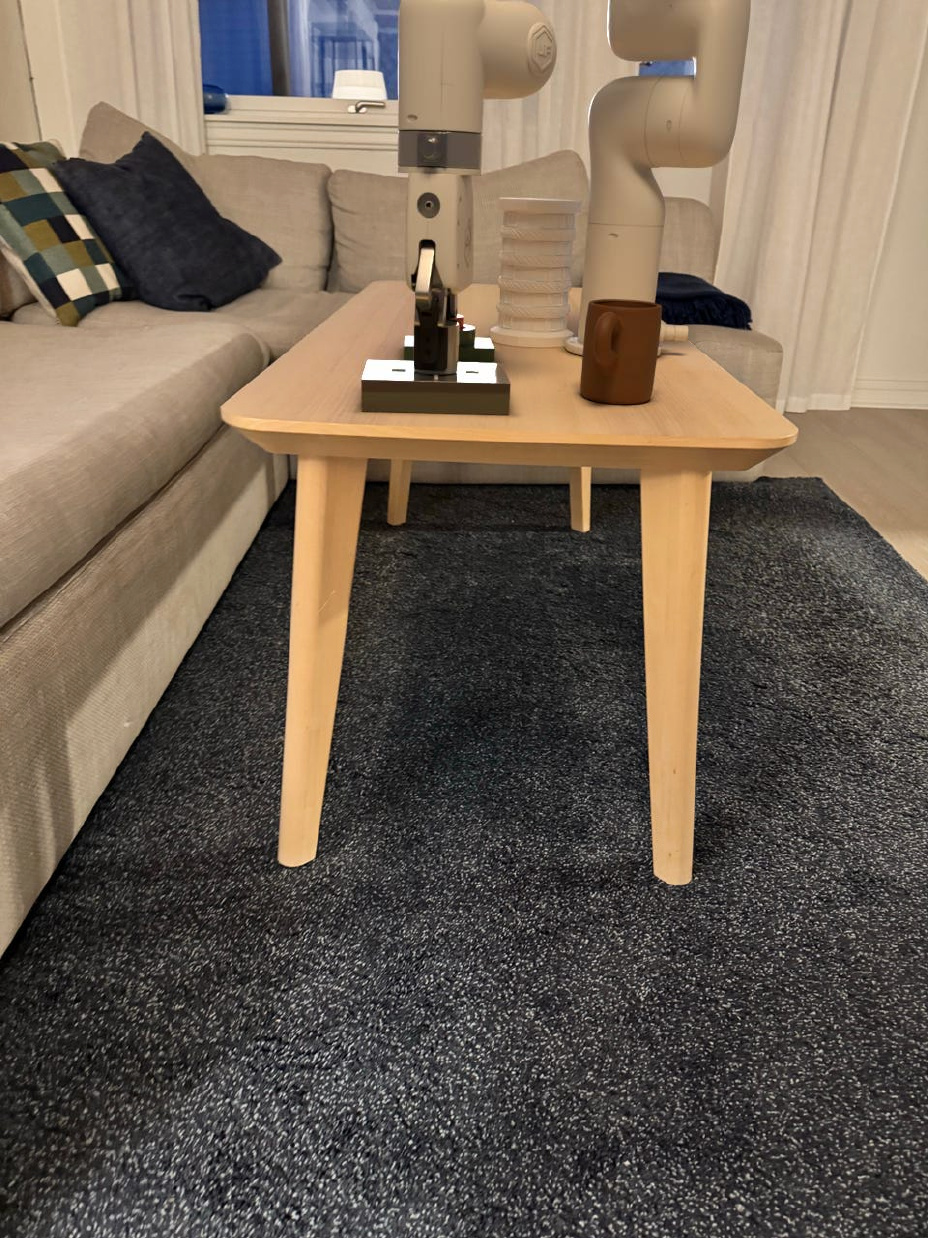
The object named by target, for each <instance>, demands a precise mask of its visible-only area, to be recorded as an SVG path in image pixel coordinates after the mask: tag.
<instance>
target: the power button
mask: <svg viewBox="0 0 928 1238" xmlns="http://www.w3.org/2000/svg"><path fill="white" fill-rule="evenodd" d="M464 318H465V316H464V315H462V314H457V319H452V320H458V323H459V329H463V328H464V325H465V319H464Z"/></svg>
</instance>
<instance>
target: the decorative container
mask: <svg viewBox="0 0 928 1238" xmlns="http://www.w3.org/2000/svg"><path fill="white" fill-rule="evenodd" d="M582 202H583V201H582V200H576V199H559V198H538V197H537V198H534V197H499V198H498V209H499V210H500V211H502V213H503V215H502V216H503V217H502V218H503V219H502V225H501V226H500V230H499V233H500V238H501V250H500V251H499V253H498V260H499V264H500V275H499V276H498V279H497V286H498V289H499V298H498V299H499V300H497V303H496V312H497V314H498V320H497V325H495V326H493V327H491V328H490V335H489V338H490V339H491V341H492V342H493V343H498V344H500V345H506V346H513V347H524V348H560V347H565V344H566V340H567V339H569V338H573V337H574V332H573V331H572V330H570V329H568V328H567V322H568V316H569V315H570V312H571V305H570V303H569V298H570V292H571V291H572V287H573V281H572V279H571V273H572V272H571V271H572V267H573V266H574V262H575V256H574V254H573V247H574V241H576V237H577V228H575V222H576V214H579V213H581V211H582Z"/></svg>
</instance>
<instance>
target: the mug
mask: <svg viewBox="0 0 928 1238" xmlns="http://www.w3.org/2000/svg"><path fill="white" fill-rule="evenodd" d="M662 313H663V307H662V305H661V304H660V303H656V302H655V303H652V302H647V301H639V300H626V299H600V300H592V301H590V302H589V303H588V310H587V316H586V322H585V332H584V344H583V355H581V371H580V381H579V383H580V385H579V389H580V393H581V395H582V397H583V398H585V399H587V400H590V401H593V402H598V403H603V404H608V405H609V404H610V405H611V404H612V405H637V404H642V403H646V402H647V401H649V400H650V399H651V397H652V394H653V391H654V384H655V376H656V370H657V363H658V356H657V355H658V347H659V345H660V342H659V339H660V331H661V323H662V315H663V314H662Z"/></svg>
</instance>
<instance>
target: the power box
mask: <svg viewBox="0 0 928 1238" xmlns="http://www.w3.org/2000/svg"><path fill="white" fill-rule="evenodd" d="M413 346H414V335H404V343H403V361H413ZM495 351H496V348H495V346H494V344H493V341H492V340H491V339H490V337H476V327H475V326H473V325H469V324H464V328H463V329H459V353H458V362H459V363H495V355H496V352H495Z"/></svg>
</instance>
